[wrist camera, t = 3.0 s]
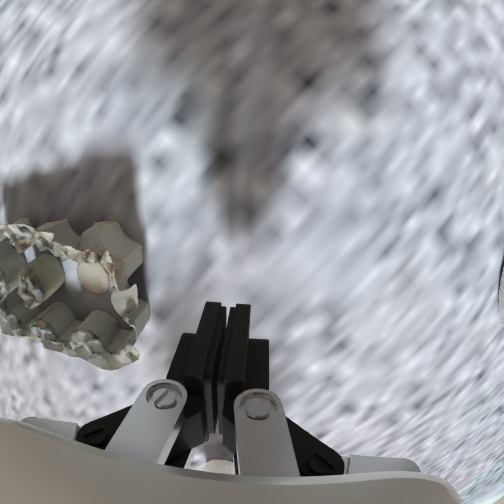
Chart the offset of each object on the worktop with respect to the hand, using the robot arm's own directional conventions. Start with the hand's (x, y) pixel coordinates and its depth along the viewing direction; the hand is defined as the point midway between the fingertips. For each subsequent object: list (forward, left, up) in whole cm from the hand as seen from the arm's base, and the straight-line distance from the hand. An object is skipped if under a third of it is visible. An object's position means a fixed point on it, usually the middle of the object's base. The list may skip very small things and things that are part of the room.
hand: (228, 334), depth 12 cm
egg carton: (+10, 0, -4) cm, 11 cm away
